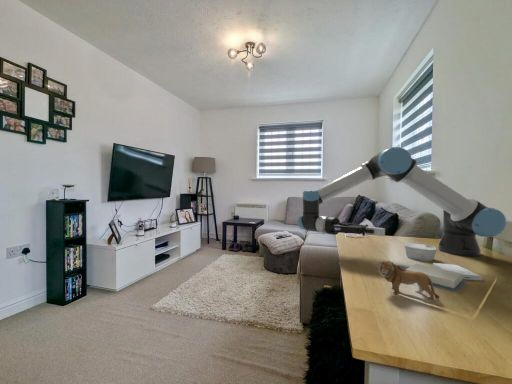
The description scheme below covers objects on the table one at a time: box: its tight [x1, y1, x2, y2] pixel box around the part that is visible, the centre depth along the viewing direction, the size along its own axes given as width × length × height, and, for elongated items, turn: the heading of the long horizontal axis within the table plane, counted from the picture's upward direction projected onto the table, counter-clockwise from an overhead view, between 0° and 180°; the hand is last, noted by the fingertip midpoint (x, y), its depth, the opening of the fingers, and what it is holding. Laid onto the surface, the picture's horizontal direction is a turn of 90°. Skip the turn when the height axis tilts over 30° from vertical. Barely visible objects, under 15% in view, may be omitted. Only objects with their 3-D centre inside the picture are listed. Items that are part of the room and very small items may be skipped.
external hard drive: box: [432, 262, 483, 282], centre depth 82 cm, size 2×8×12 cm
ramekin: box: [404, 242, 437, 262], centre depth 101 cm, size 11×11×5 cm
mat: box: [397, 264, 469, 294], centre depth 78 cm, size 14×20×1 cm
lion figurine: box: [378, 259, 440, 300], centre depth 66 cm, size 15×5×9 cm, turn 71°
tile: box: [406, 263, 463, 289], centre depth 76 cm, size 10×2×12 cm
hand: (383, 232), depth 88 cm, fingers closed
